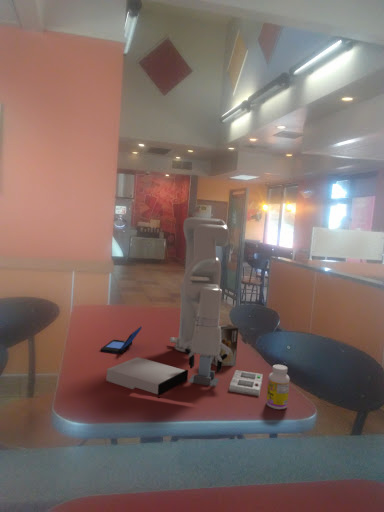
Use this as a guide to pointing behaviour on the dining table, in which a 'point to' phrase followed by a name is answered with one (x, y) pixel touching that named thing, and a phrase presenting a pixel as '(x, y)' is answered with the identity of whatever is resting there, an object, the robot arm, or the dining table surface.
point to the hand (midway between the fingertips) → (204, 369)
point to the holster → (204, 379)
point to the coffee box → (228, 345)
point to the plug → (205, 365)
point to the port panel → (246, 383)
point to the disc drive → (146, 375)
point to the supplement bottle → (278, 387)
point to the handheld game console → (120, 344)
